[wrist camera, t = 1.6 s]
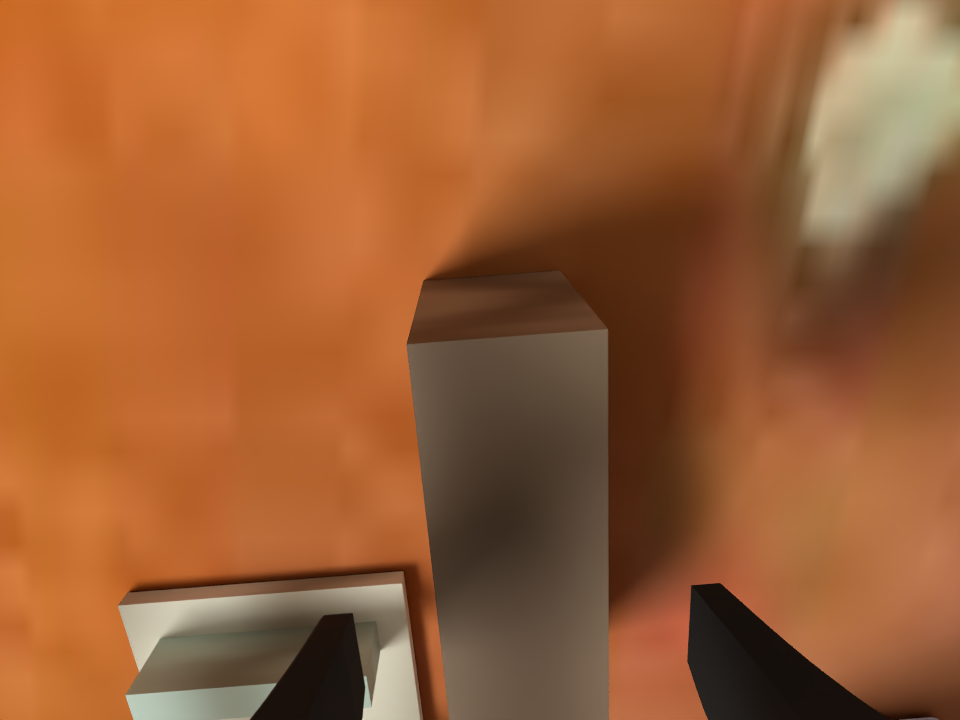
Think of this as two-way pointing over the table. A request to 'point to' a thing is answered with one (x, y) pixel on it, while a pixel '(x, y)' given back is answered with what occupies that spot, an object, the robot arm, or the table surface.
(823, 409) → the table surface
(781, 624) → the table surface
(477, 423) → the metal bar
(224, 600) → the rail stand
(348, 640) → the robot arm
